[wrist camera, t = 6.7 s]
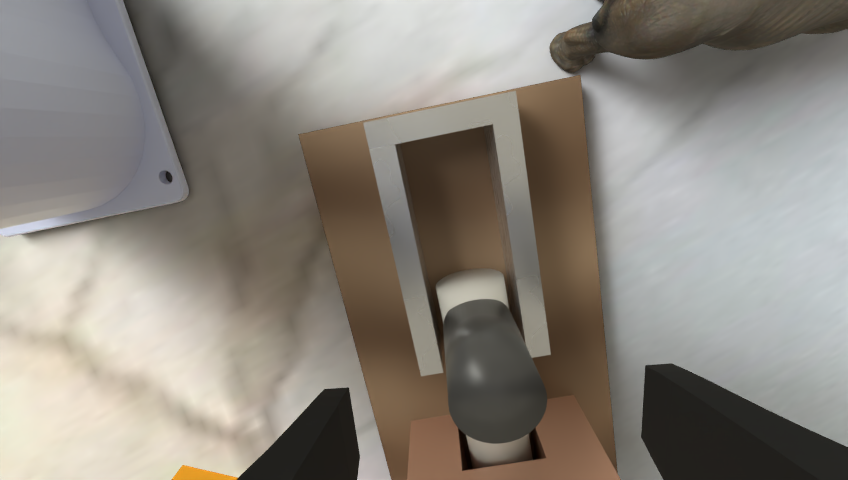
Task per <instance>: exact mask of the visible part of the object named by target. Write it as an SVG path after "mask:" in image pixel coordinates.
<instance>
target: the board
mask: <svg viewBox="0 0 848 480" xmlns="http://www.w3.org/2000/svg"><path fill="white" fill-rule="evenodd" d="M512 91H516V96H517V103H518V111H519V118H520V126H521V133H522V141H523V148H524V156H525V163H526V171H527V178H528V186H529V194H530V201H531V209H532V216H533V224H534V231H535V239H536V246H537V254H538V261H539V269H540V276H541V284H542V291H543V299H544V306H545V314H546V321H547V329H548V336H549V344H550V352H551V355H546V356H540V357H534V358H532V360H533V362H534V364H535V366H536V368H537V371H538V373H539V375H540V377H541V379H542V381H543V384H544V386H545V389H546V393H547V399H551V398H557V397H563V396H570V395H574V396H575V398H576V400H577V402H578V404H579V405H580V407H581V409H582V411H583V413H584V414H585V416H586V418H587V420H588V422H589V423H590V425H591V427H592V429H593V431H594V432H595V434H596V436H597V438H598V440H599V441H600V443H601V445H602V447H603V449H604V450H605V452H606V454H607V456H608V458H609V459H610V461H611V463H612V465H613V467H614V468H615V470H616V472H617V462H616V451H615V441H614V430H613V419H612V409H611V398H610V387H609V377H608V366H607V355H606V344H605V334H604V323H603V312H602V302H601V291H600V280H599V269H598V259H597V248H596V237H595V227H594V216H593V205H592V195H591V184H590V173H589V162H588V152H587V141H586V130H585V120H584V109H583V98H582V87H581V77H580V75H578V76H573V77H568V78H563V79H559V80H554V81H549V82H545V83H540V84H535V85H530V86H526V87H521V88H516V89H511V90H507V91H502V92H497V93H492V94H488V95H483V96H478V97H473V98H469V99H464V100H459V101H455V102H450V103H445V104H440V105H436V106H431V107H426V108H421V109H417V110H412V111H407V112H402V113H398V114H393V115H388V116H383V117H379V118H374V119H369V120H365V121H360V122H355V123H350V124H346V125H341V126H336V127H331V128H327V129H322V130H317V131H312V132H308V133H303V134H298V135H299V139H300V143H301V146H302V150H303V154H304V157H305V161H306V165H307V168H308V172H309V176H310V180H311V183H312V187H313V191H314V194H315V198H316V202H317V205H318V209H319V213H320V217H321V220H322V224H323V228H324V231H325V235H326V239H327V242H328V246H329V250H330V254H331V257H332V261H333V265H334V268H335V272H336V276H337V279H338V283H339V287H340V291H341V294H342V298H343V302H344V305H345V309H346V313H347V316H348V320H349V324H350V328H351V331H352V335H353V339H354V342H355V346H356V350H357V353H358V357H359V361H360V365H361V368H362V372H363V376H364V379H365V383H366V387H367V390H368V394H369V398H370V402H371V405H372V409H373V413H374V416H375V420H376V424H377V427H378V431H379V435H380V439H381V442H382V446H383V450H384V453H385V457H386V461H387V464H388V468H389V472H390V476H391V479H392V480H407V474H408V459H409V444H410V428H411V421H414V420H420V419H426V418H433V417H439V416H445V415H450V412H449V406H448V392H447V377H446V363H445V349H444V334H443V321H442V316H441V311H440V306H439V301H438V296H437V291H436V284H437V283H438V281H440V280H441V279H442V278H444V277H446V276H448V275H450V274H453V273H455V272H459V271H463V270H468V269H477V268H487V269H494V270H497V271H500V272H501V273H502V274H503V275H504V280H505V286H506V293H507V299H508V305H509V310H510V312H511V314H512V307H511V301H510V294H509V288H508V282H507V275H506V269H505V262H504V256H503V249H502V243H501V237H500V230H499V224H498V217H497V211H496V205H495V198H494V192H493V185H492V179H491V172H490V166H489V160H488V153H487V147H486V140H485V134H484V127H483V126H481V127H477V128H472V129H467V130H462V131H457V132H452V133H447V134H443V135H438V136H433V137H428V138H423V139H418V140H413V141H409V142H404V143H400V145H401V150H402V154H403V159H404V164H405V169H406V174H407V178H408V183H409V188H410V193H411V198H412V202H413V207H414V212H415V217H416V222H417V226H418V231H419V236H420V241H421V245H422V250H423V255H424V260H425V265H426V269H427V274H428V279H429V284H430V289H431V293H432V298H433V303H434V308H435V313H436V317H437V322H438V327H439V332H440V336H441V341H442V358H443V373H438V374H432V375H426V376H421V374H420V369H419V365H418V361H417V356H416V352H415V347H414V343H413V339H412V334H411V330H410V326H409V321H408V317H407V312H406V308H405V304H404V299H403V295H402V291H401V286H400V282H399V277H398V273H397V269H396V264H395V260H394V256H393V251H392V247H391V243H390V238H389V234H388V229H387V225H386V221H385V216H384V212H383V208H382V203H381V199H380V194H379V190H378V186H377V181H376V177H375V173H374V168H373V164H372V159H371V155H370V151H369V146H368V142H367V138H366V133H365V129H364V124H363V123H364V122H369V121H374V120H379V119H383V118H388V117H393V116H398V115H402V114H407V113H412V112H417V111H421V110H426V109H431V108H436V107H440V106H445V105H450V104H455V103H459V102H464V101H469V100H474V99H478V98H483V97H488V96H493V95H497V94H502V93H507V92H512ZM512 316H513V314H512ZM460 432H461V437H462V442H463V447H464V451H465V456H466V461H467V466H468V470H471V469H473V467H472V462H471V457H470V452H469V447H468V442H467V438H466V434H464V433H463V432H462V431H461V430H460ZM529 439H530V445H531V451H532V458H533V460H535V455H534V449H533V442H532V436H531V432H530V433H529ZM617 474H618V473H617Z"/></svg>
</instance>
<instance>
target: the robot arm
mask: <svg viewBox="0 0 848 480" xmlns="http://www.w3.org/2000/svg"><path fill="white" fill-rule="evenodd" d="M167 171H168V172H170V173H171V175H172V177H173V180H172V182H171V183H170V182H169V181H168V180H167V179H166V175H165V174H166V172H167ZM188 193H189V189H188V185H187V182H186V179H185V176H184V173H183V171H182V168H181V165H180V162H179V159H178V156H177V153H176V151H175V148H174V145H173V142H172V139H171V136H170V133H169V131H168V128H167V125H166V122H165V119H164V116H163V113H162V110H161V108H160V105H159V102H158V99H157V96H156V93H155V90H154V88H153V85H152V82H151V79H150V76H149V73H148V70H147V68H146V65H145V62H144V59H143V56H142V53H141V50H140V47H139V45H138V42H137V39H136V36H135V33H134V30H133V27H132V25H131V22H130V19H129V16H128V13H127V10H126V7H125V5H124V2H123V0H0V235H2V236H4V237H11V236H16V235H21V234H26V233H31V232H35V231H40V230H45V229H50V228H55V227H60V226H65V225H70V224H75V223H80V222H84V221H89V220H94V219H99V218H104V217H109V216H114V215H119V214H124V213H129V212H134V211H138V210H143V209H148V208H153V207H158V206H163V205H168V204H173V203H177V202H181V201H183V200H185V199H186V198H187V196H188ZM641 437H642V439H643V441H644V443H645V445H646V447H647V449H648V451H649V453H650V455H651V457H652V459H653V461H654V463H655V465H656V466H657V468H658V470H659V472H660V474H661V476H662V477H663V479H664V480H848V447H846V446H844V445H841V444H839V443H837V442H835V441H833V440H830V439H828V438H826V437H824V436H821V435H819V434H817V433H815V432H813V431H810V430H808V429H806V428H804V427H802V426H800V425H798V424H795V423H793V422H791V421H789V420H787V419H785V418H783V417H781V416H779V415H777V414H775V413H773V412H770V411H768V410H766V409H764V408H762V407H760V406H758V405H756V404H754V403H752V402H750V401H748V400H746V399H744V398H742V397H740V396H738V395H736V394H734V393H732V392H730V391H728V390H726V389H724V388H722V387H720V386H718V385H716V384H714V383H712V382H710V381H708V380H706V379H704V378H702V377H700V376H698V375H696V374H694V373H692V372H690V371H688V370H685V369H683V368H681V367H679V366H676V365H674V364H659V365H646V366H645V383H644V400H643V417H642V434H641ZM359 459H360V455H359V448H358V442H357V436H356V430H355V424H354V417H353V411H352V405H351V399H350V393H349V388H336V389H324V390H323V391H322V392H321V393H320V394H319V395H318V396H317V398H316V399H315V400H314V401H313V402H312V403H311V404H310V405H309V406H308V407H307V408H306V409H305V411H304V412H303V413H302V414H301V415H300V416H299V417H298V418H297V419H296V420H295V421H294V422H293V424H292V425H291V426H290V427H289V428H288V429H287V430H286V431H285V432H284V433H283V434H282V435H281V436H280V437H279V438H278V439H277V440H276V441H275V442H274V444H273V445H272V446H271V447H270V448H269V449H268V450H267V451H266V452H265V453H264V454H263V455H262V456H260V457H259V458H258V459H257V460H256V461H255V462H254V463H253V464H252V465H251V466H250V467H249V468H248V469H247V470H246V471H245V472H244V473H243V474H242V475H241V476H240V477H239V478H238V479H237V480H357V475H358V467H359Z"/></svg>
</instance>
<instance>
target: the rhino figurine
mask: <svg viewBox="0 0 848 480" xmlns="http://www.w3.org/2000/svg"><path fill="white" fill-rule="evenodd" d="M845 29H848V0H605V1H604V3H603V5H602V7H601V8H600V10H599V11H598V12H597V13H596V15H595V16H594V17H593V19H592V22H589V23H585V24H582V25H579V26H576V27H574V28H572V29H570V30H568V31H567V32H563V33H560V34H558V35H557V36H556V37H555V38H554V39H553V41H552V42H551V44H550V53H551V57H552V59H553V60H554V62H555V63H556V64H557V65H558V66H559V67H560V68H562V69H563V70H565V71H568V72H571V73H574V72H576V71H578V70H579V69H580V68H581V67H582V66H583V65H587V64H588V63H590V62H591V61H592V60H593V58H594V56H595V54H598V53H604V52H610V53H614V54H617V55H621V56H624V57H629V58H634V59H657V58H662V57H666V56H669V55H672V54H676V53H679V52H682V51H685V50H687V49H690V48H693V47H696V46H698V45H700V44H702V43H703V44H706V45H709V46H712V47H715V48H719V49H724V50H751V49H755V48H760V47H765V46H768V45H771V44H774V43H777V42H780V41H783V40H785V39H788V38H791V37H793V36H796V35H798V34H801V33H805V34H823V33H834V32H838V31H842V30H845Z"/></svg>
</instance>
